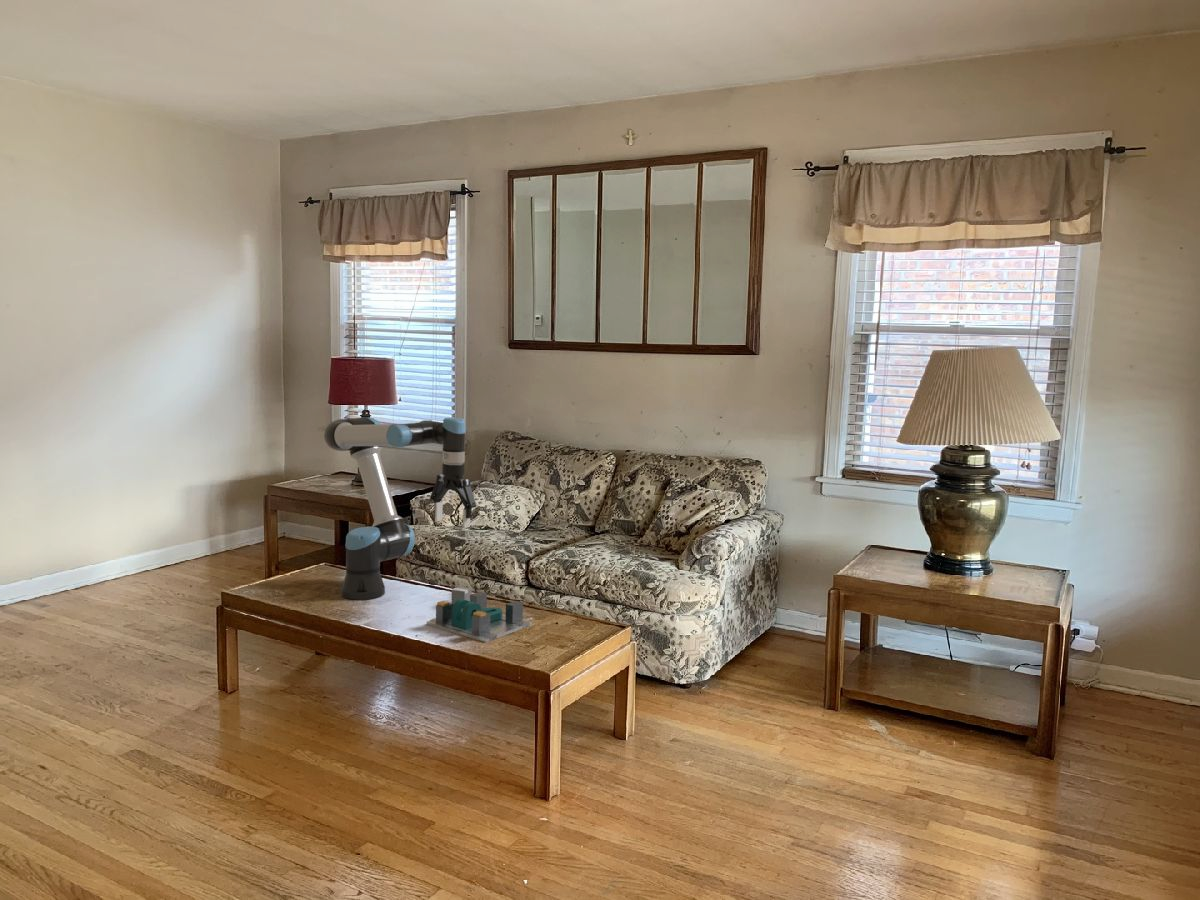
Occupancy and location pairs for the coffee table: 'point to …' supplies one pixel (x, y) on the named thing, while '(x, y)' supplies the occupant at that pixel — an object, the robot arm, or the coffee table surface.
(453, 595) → the block
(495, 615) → the bracket
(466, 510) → the robot arm
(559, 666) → the coffee table surface
